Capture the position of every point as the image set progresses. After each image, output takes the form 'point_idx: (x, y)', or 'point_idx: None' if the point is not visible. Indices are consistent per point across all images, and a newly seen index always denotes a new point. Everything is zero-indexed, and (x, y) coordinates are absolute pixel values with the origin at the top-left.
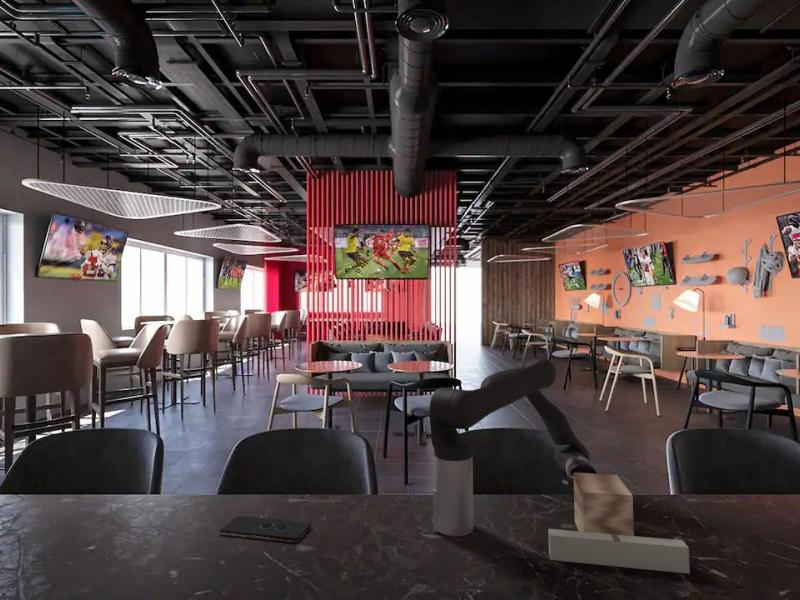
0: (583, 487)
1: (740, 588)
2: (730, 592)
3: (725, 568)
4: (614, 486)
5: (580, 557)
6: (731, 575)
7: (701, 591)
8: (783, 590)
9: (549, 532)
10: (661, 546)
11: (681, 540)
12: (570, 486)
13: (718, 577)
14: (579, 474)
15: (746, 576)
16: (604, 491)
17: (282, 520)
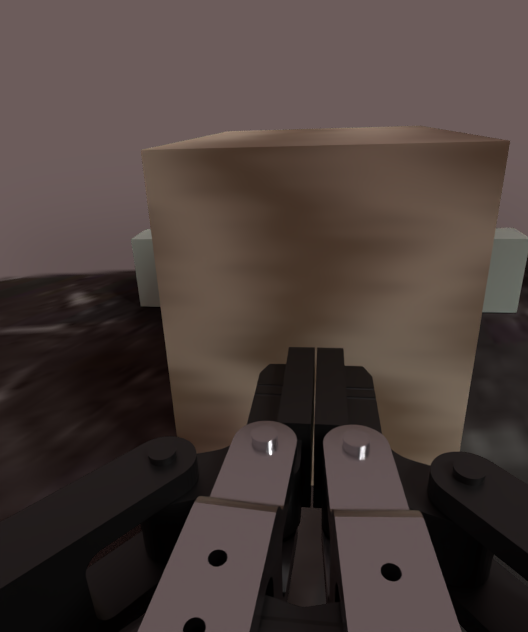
0: (419, 127)
1: (89, 277)
2: (123, 271)
3: (38, 307)
4: (262, 134)
5: None
6: (56, 295)
7: None
8: (5, 280)
9: (519, 232)
10: None
11: (134, 239)
12: None
13: (97, 290)
14: (451, 138)
15: (24, 296)
16: (329, 129)
17: None
